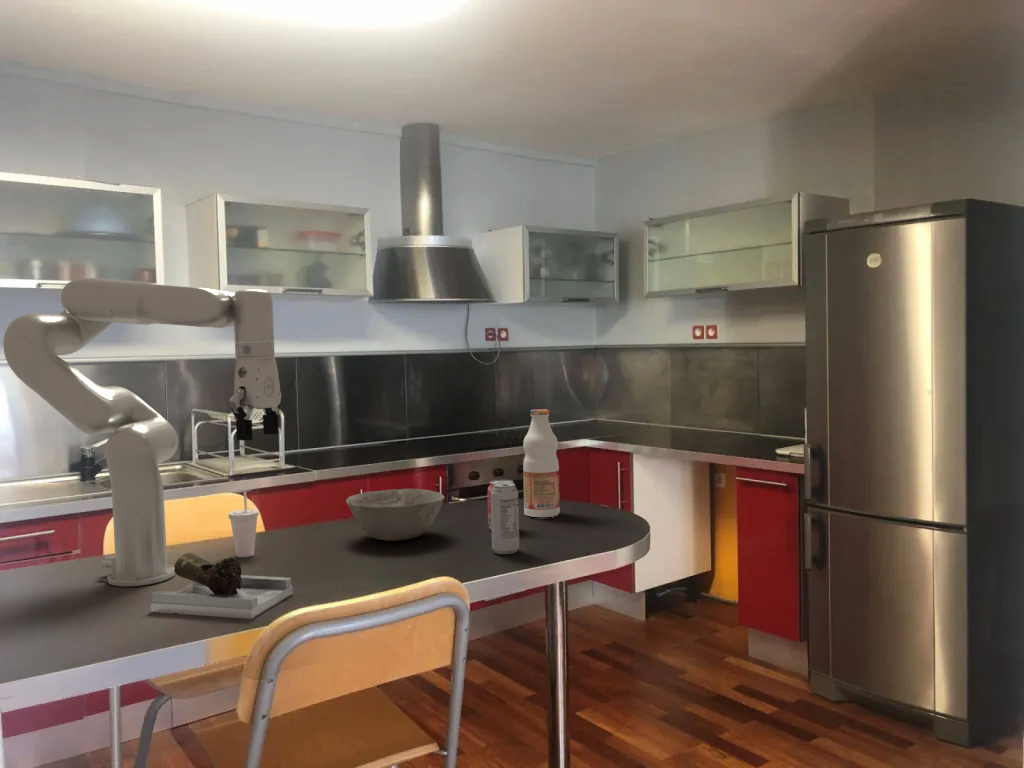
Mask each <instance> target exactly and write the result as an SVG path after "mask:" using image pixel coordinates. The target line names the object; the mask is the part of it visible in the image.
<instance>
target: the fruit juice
mask: <svg viewBox="0 0 1024 768" xmlns="http://www.w3.org/2000/svg"><path fill="white" fill-rule="evenodd" d="M549 416H550V410H549V409H545V408H543V409H539V408H538V409H530V417H531V421H530V426H529V428H528V431H527V433H526V435H525V436H524V438H523V444H522V447H523V451H524V458H523V463H522V464H523V465H522V466H523V467H522V471H523V472H522V473H523V474H522V475H523V512H524V516H525V515H527V516H531V517H552V518H555V517H554V516H556V517H558V516H559V515H560V511H561V509H560V464H559V459H558V457H557V456H558V455H557V450H558V446H559V444H558V438H557V436H556V435H555V434H554V432H553V429H552V427H551V424H550V421H549ZM558 514H559V515H558ZM557 515H558V516H557ZM527 516H526V517H527Z"/></svg>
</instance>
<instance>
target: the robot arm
mask: <svg viewBox="0 0 1024 768" xmlns="http://www.w3.org/2000/svg"><path fill="white" fill-rule="evenodd" d="M60 302H61V305H62V307H63V309H64V310H62V311H61V312H60V313H59V314H56V313H53V314H52V313H42V312H41V313H40V312H37V313H28V314H24V315H21V316H19V317H16V318H15V319H14V320H12V321H11V322H10V324H8V326H7V328H6V330H5V332H4V335H3V340H2V341H3V353H4V358H5V360H6V362H7V364H8V366H9V368H10V369H11V371H12V372H13V373H14V374H15V376H16V377H17V378H18V379H19V380H20V381H21V382H22V383H23V384H25V385H26V386H27V387H28V388H30V389H31V390H32V391H34V392H35V393H36V394H37V395H39V396H40V397H41V398H42V399H43V400H45V401H46V403H47V404H49V405H50V407H52V408H53V409H54V410H56V411H57V412H58V413H59V414H60V415H62V416H63V417H64V418H65V419H67V421H69V422H70V423H71V424H72V425H73V426H75V427H76V428H77V429H78V430H79V431H81V432H83V433H84V434H86V435H90V436H91V435H93V436H96V435H97V436H98V435H104V434H109V433H111V434H110V435H109V437H108V439H107V441H106V444H105V450H104V451H105V453H104V454H105V461H106V465H107V469H108V470H107V471H108V474H109V479H110V480H109V481H110V487H111V504H112V519H113V521H112V522H113V537H114V539H113V540H114V555H106V556H105V557H104V560H102V561H101V562H100V563H101V564H100V566H101V568H107V569H109V568H110V569H111V570H110V571H111V572H110V574H108V575H107V583H108V584H109V585H112V586H115V587H138V586H139V587H140V586H148V585H152V584H153V585H154V584H157V583H162V582H164V581H166V580H169V579H171V578H173V577H174V576H175V575H176V573H175V572H174V569H175V568H174V566H173V565H170V564H168V556H167V555H168V554H167V533H166V511H165V496H164V495H165V493H164V485H163V479H162V475H161V471H160V468H159V464H161V463H164V462H166V461H167V460H170V459H171V458H172V457H173V456H174V455H175V453H176V452H177V450H178V447H179V437H178V434H177V431H176V430H175V428H174V426H173V425H172V424H171V423H170V422H169V421H168V420H167V419H166V418H164V417H163V416H162V414H160V413H159V412H158V411H156V410H155V409H154V408H153V407H151V406H150V405H149V404H148V403H147V402H146V401H144V400H143V399H142V398H141V397H140V396H138V395H137V394H136V393H134V392H132V391H131V390H129V389H127V388H125V387H121V386H117V385H108V386H101V385H99V384H97V383H95V382H94V381H93V380H92V379H90V378H88V377H87V376H86V375H85V374H84V373H83V372H81V370H80V369H78V368H77V367H75V366H74V365H73V364H71V363H69V362H67V361H65V360H64V359H62V358H61V357H59V356H66V355H71V354H73V353H75V352H78V351H80V350H81V349H83V347H85V346H87V345H88V344H89V343H90V342H92V341H93V340H94V339H96V337H98V336H99V335H100V334H101V333H102V332H104V331H105V330H106V329H107V328H109V327H110V326H111V325H112V324H114V323H120V324H131V325H132V324H133V325H143V326H146V325H147V326H149V325H155V324H158V325H159V324H160V325H171V326H184V327H185V326H187V327H196V328H197V327H198V328H213V329H214V328H218V329H219V328H228V327H229V328H230V327H233V329H234V332H233V333H234V355H235V365H234V366H235V367H234V381H233V382H234V383H233V384H234V385H233V387H234V390H233V391H234V394H232V396H231V397H230V398H229V405H230V407H231V414H233V419H234V420H235V426H236V427H235V430H236V432H235V433H236V440H237V441H252V440H253V439H254V438H253V437H254V436H253V420H252V419H251V416H252V414H253V411H254V409H255V410H262V411H263V413H264V414H262V425H263V427H262V428H263V429H262V430H263V431H262V432H263V434H264V435H279V431H280V430H279V414H280V406H281V404H282V403H281V402H282V401H281V400H282V392H281V384H280V377H279V369H278V364H277V360H276V358H275V357H276V356H275V335H274V308H273V306H274V303H273V296H272V293H270V292H269V290H264V289H241V290H240V289H239V290H237V291H236V292H235V291H226V290H220V289H213V288H206V287H195V286H193V287H192V286H182V285H181V286H179V285H167V284H157V283H152V282H150V281H149V282H148V281H137V280H136V281H135V280H121V279H109V278H95V277H80V278H75V279H73V280H70V281H69V282H68V283H66V284H65V285H64V287H63V288H62V290H61V294H60Z"/></svg>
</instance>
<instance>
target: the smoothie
mask: <svg viewBox="0 0 1024 768" xmlns="http://www.w3.org/2000/svg"><path fill="white" fill-rule="evenodd" d="M247 500H248V497H247V492H245V491H244V492H243V504H244V505H243V506H244V509H237V510H234V511H230V512H229V513H228V519H230V520H229V521H230V525H231V530H232V537H233V542H234V548H235V555H236V557H237V558H249V557H252V556H254V555H255V547H256V545H255V544H256V536H257V526H258V525H257V523H258V522H257V521H258V516H260V514H259V510H257V509H248V502H247Z"/></svg>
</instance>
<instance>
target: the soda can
mask: <svg viewBox="0 0 1024 768" xmlns="http://www.w3.org/2000/svg"><path fill="white" fill-rule="evenodd" d="M496 483H514V481H513V480H511V479H494V480H490V481H489V486H488V488H487V522H488V528H489V529H490V530H491V531H492V525H491V491H492V489H493V487H494V486H493V485H494V484H496Z"/></svg>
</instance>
